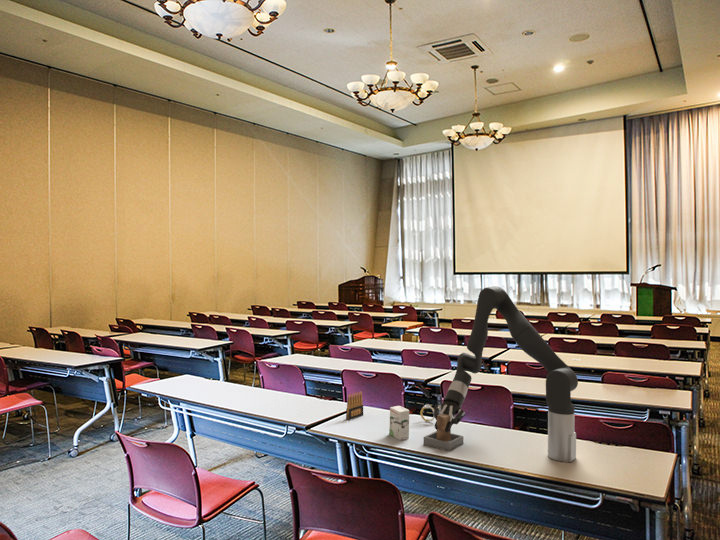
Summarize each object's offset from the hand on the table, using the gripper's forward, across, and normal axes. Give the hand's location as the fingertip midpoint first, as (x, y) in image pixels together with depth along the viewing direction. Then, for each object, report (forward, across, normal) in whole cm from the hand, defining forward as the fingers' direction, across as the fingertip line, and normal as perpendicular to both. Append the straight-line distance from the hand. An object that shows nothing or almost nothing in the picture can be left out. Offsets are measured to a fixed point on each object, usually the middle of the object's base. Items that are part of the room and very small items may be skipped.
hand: (441, 430), depth 201 cm
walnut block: (+2, 0, +5) cm, 5 cm away
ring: (-12, -21, +21) cm, 32 cm away
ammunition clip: (0, -51, +9) cm, 52 cm away
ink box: (+6, -19, +3) cm, 20 cm away
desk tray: (+3, 0, +6) cm, 6 cm away
